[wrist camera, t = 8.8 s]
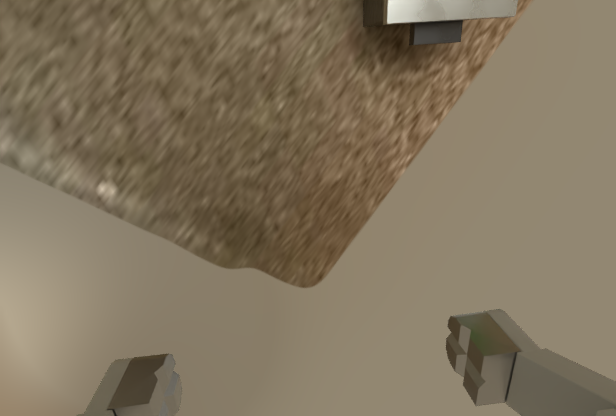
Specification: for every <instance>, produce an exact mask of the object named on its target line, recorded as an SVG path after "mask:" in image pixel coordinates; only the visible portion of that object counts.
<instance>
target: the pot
mask: <svg viewBox="0 0 616 416" xmlns="http://www.w3.org/2000/svg"><path fill="white" fill-rule="evenodd" d="M383 11H384V0H364V4H363V27H368V26H385V25H383ZM462 23H463V20H458V21H441V22H424V23H407V24H410V42H409V45H422V44H438V43H454V42H460V41H461V32H462ZM391 25H402V24H391Z"/></svg>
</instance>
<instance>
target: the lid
mask: <svg viewBox="0 0 616 416" xmlns="http://www.w3.org/2000/svg"><path fill="white" fill-rule="evenodd" d="M517 2H518V0H384V11H383V25H391V24H407V23H424V22H441V21H458V20H474V19H491V18H507V17H513V16H515V14H516V8H517Z"/></svg>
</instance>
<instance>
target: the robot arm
mask: <svg viewBox="0 0 616 416" xmlns="http://www.w3.org/2000/svg"><path fill="white" fill-rule="evenodd" d="M448 328H449V329H450V331H451V334H450V335H449V336H448V337H447V338H446V350H447V356H448V359H449V361H450V364H451V365H452V367H453V369H454V371H455V372H456V373H458V374H460V375H461V376H463V377H464V382H463V386H464V387H465V389H466V391H467V392H468V394H469V395H470V397H471V399H472V400H473V402H474V404H475V405H476V406H480V405H488V404H495V403H505V402H506V404H507V405H508V406H509V407H511V408H512V409H513V410H515V411H516V412H517V413H519V414H520V415H521V416H616V381H613V380H611V379H609V378H607V377H605V376H603V375H601V374H599V373H597V372H594V371H592V370H590V369H588V368H586V367H584V366H582V365H580V364H578V363H576V362H573V361H571V360H569V359H567V358H565V357H563V356H561V355H559V354H556V353H554V352H552V351H550V350H548V349H540V348H539V347H538V346H537V345H536V344H535V342H534V341H532V339H531V338H530V337H529V336H528V335H527V334H526V333H525V332H524V331H523V330H522V329H521V328H520V327H519V326H518V325H517V324H516V323H515V322H514V321H513V320H512V319H511V318H510V317H509V316H508V314H507V313H506V312H505V311H503V310H501V309H496V310H489V311H483V312H477V313H469V314H462V315H456V316H451V317H450V318H449V320H448ZM174 367H175V360H174V358H173V355H172V354H161V355H152V356H143V357H134V358H128V359H118V360H115V361H114V362H113V363H112V364H111V365H110V367H109V369H108V370H107V372H106V374H105V376H104V378H103V379H102V381H101V383H100V385H99V387H98V389H97V391H96V392H95V394H94V396H93V398H92V400H91V402H90V403H89V405H88V407H87V409H86V411H85V412H84V414H79V415H77V416H174V415H175V414H176V413H177V412H178V411H179V407H180V403H181V395H182V386H181V380H180V377H179V374H177V373H176V372H174V371H173V370H174Z"/></svg>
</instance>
